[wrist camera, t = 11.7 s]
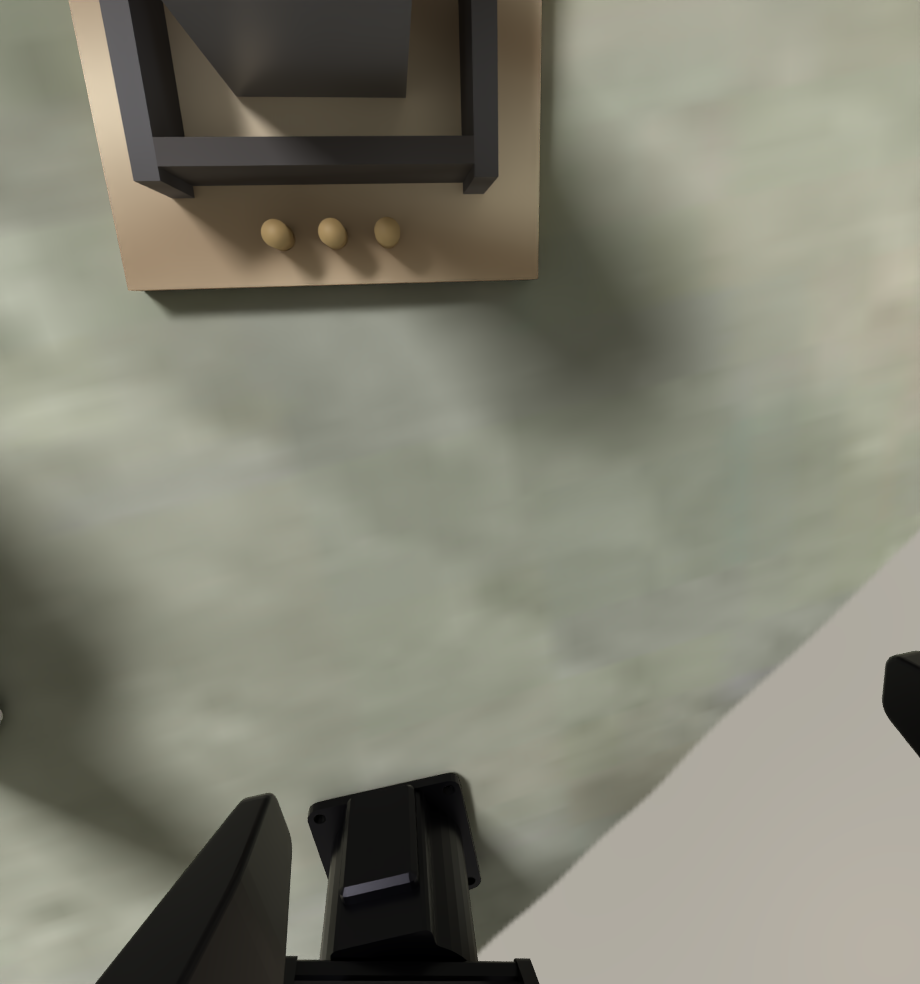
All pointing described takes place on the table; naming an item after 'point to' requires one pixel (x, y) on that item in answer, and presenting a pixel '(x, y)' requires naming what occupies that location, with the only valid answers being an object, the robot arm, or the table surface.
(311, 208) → the socket board
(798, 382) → the table surface
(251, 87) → the plug block
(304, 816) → the table surface
